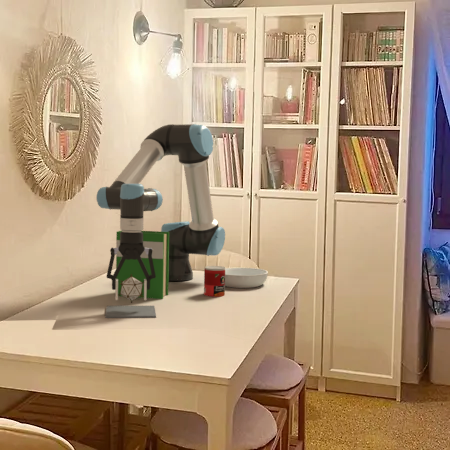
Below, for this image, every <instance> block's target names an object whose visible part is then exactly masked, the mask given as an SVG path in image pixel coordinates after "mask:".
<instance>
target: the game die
mask: <svg viewBox="0 0 450 450" xmlns="http://www.w3.org/2000/svg"><path fill="white" fill-rule="evenodd" d="M121 282H122V283H120V284H121V285H122V286H121V292H120V294H118V297H120V296H119V295H122V296H121V297H124V298H126V299H127V300H129V301H130V304H133V301H134V300H136V299H137V298H140V297H139V296H141V297H143V296H142V295H141V294H143V293H142V286H143V283H144V282H141V281H139V280H137V279H136V278H134V277H132V274H131V277H129V278H128V279H126V280H125V281H121Z"/></svg>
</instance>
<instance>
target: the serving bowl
mask: <svg viewBox="0 0 450 450" xmlns="http://www.w3.org/2000/svg"><path fill="white" fill-rule="evenodd" d="M268 274H269V271H268V270H266V269H263V268H258V267H257V268H255V267H241V266H239V267H225V287H227V288H234V289H236V288H237V289H253V288H257V287H260V286H262V285H263V284H264V283H265V282H266V281H267V278H268Z"/></svg>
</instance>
